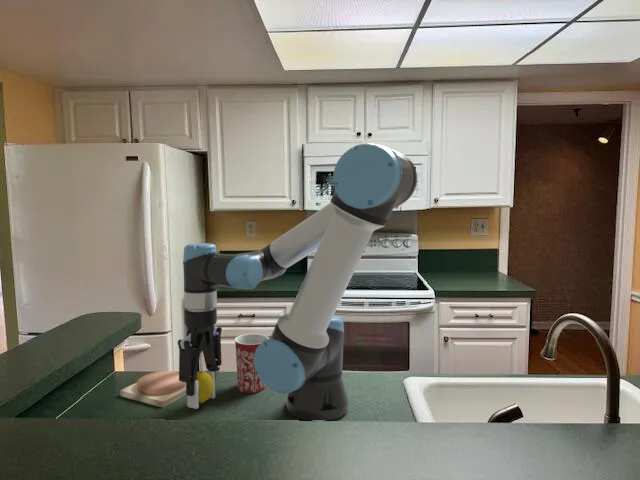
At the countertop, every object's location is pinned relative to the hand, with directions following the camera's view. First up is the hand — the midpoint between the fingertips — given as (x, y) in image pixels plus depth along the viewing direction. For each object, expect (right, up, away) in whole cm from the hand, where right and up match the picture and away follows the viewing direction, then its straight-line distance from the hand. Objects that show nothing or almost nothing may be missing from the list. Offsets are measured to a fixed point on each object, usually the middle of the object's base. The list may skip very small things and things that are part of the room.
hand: (201, 401), depth 106 cm
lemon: (0, -1, 0) cm, 1 cm away
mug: (+11, 0, +12) cm, 17 cm away
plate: (-12, 0, +8) cm, 15 cm away
